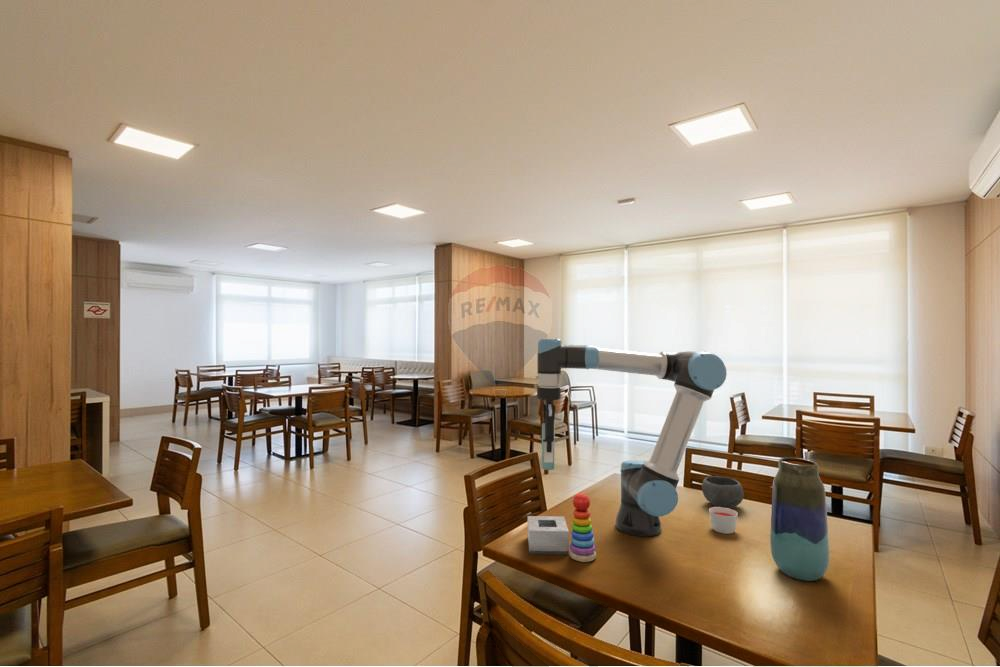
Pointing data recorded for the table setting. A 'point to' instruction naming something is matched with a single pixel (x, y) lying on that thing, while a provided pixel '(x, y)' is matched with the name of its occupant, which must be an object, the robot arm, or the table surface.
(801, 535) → the vase
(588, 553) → the stacking toy
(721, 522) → the candle
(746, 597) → the table surface
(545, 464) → the peg
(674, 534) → the table surface
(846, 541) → the table surface
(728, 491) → the bowl
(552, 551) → the socket block
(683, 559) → the table surface
